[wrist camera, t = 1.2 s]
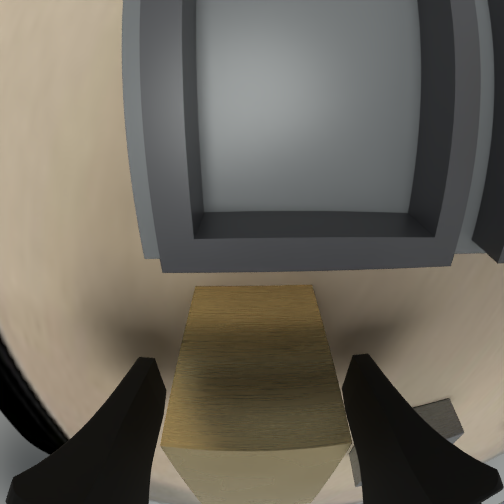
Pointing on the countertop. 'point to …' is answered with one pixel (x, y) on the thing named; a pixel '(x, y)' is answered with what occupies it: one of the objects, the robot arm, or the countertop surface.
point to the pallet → (315, 132)
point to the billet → (255, 398)
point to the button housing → (436, 416)
